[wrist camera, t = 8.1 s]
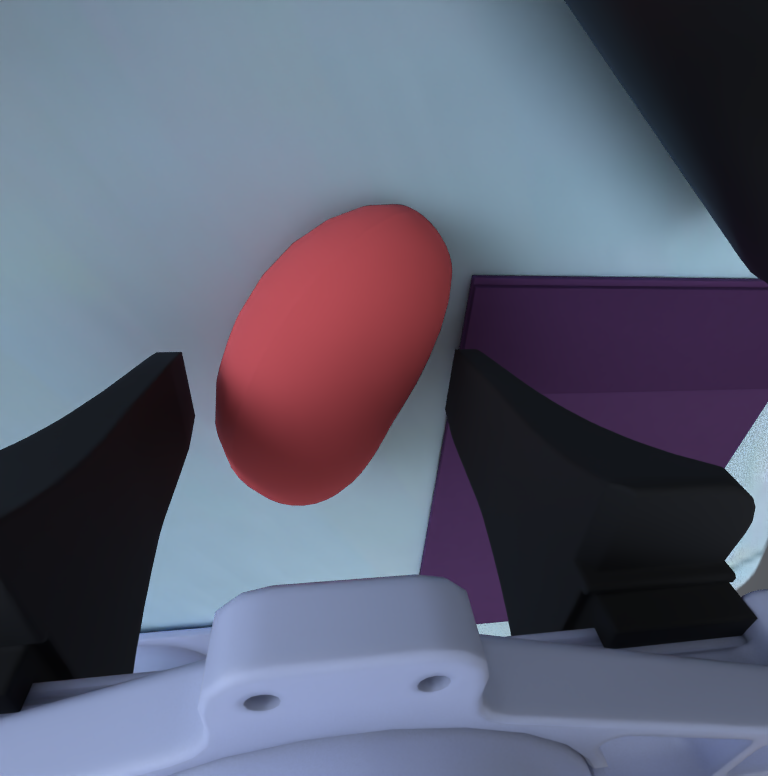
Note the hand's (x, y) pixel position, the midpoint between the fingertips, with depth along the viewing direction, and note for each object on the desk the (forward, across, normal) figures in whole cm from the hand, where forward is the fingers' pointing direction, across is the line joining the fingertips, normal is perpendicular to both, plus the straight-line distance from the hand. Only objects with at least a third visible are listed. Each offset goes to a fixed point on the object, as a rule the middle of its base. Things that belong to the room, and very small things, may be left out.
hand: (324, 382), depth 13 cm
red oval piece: (+3, 0, 0) cm, 3 cm away
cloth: (+3, -11, +8) cm, 14 cm away
